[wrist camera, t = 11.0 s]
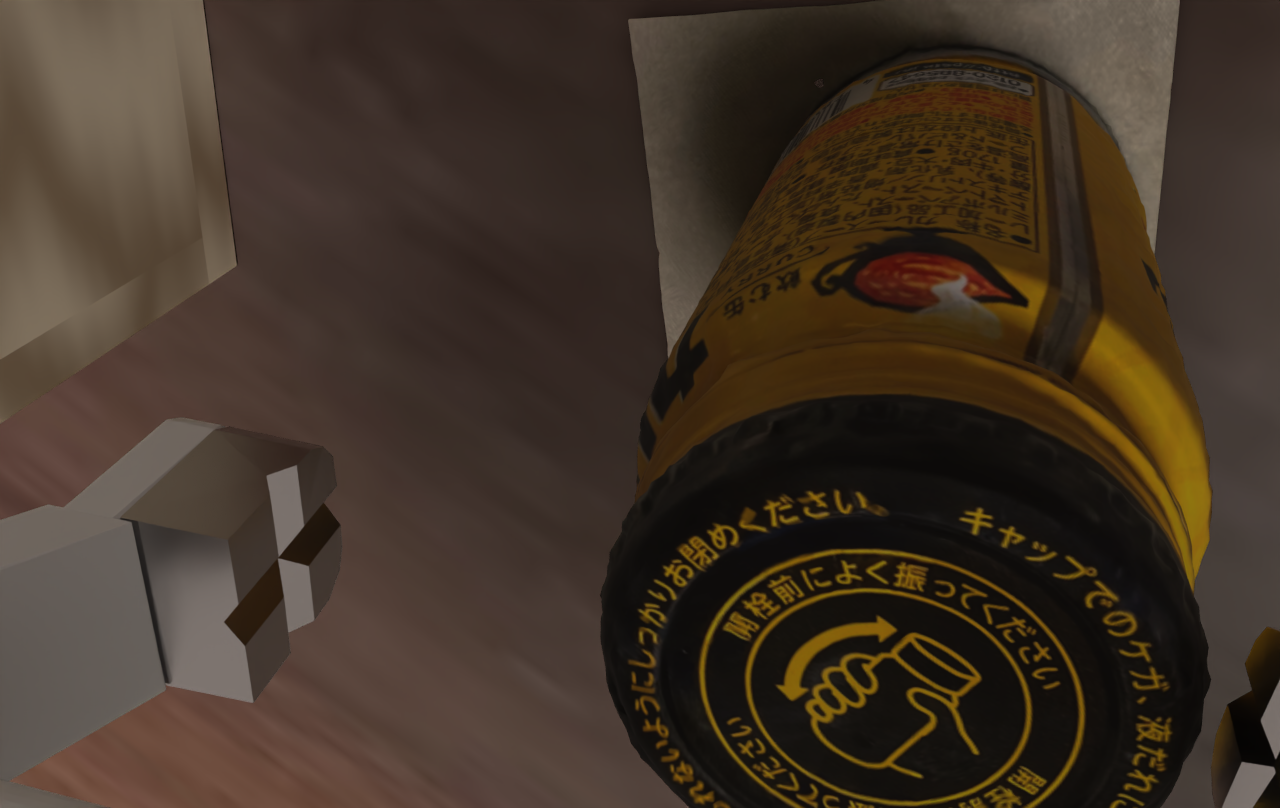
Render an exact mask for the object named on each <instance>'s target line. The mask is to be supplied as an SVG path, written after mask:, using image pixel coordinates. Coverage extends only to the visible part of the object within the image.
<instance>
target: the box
mask: <svg viewBox="0 0 1280 808" xmlns="http://www.w3.org/2000/svg"><path fill="white" fill-rule="evenodd" d="M236 266H237V262H236V255H235V247H234V239H233V231H232V224H231V216H230V208H229V200H228V192H227V185H226V177H225V169H224V161H223V154H222V146H221V138H220V130H219V122H218V115H217V107H216V99H215V91H214V83H213V76H212V68H211V60H210V52H209V45H208V37H207V29H206V21H205V13H204V6H203V0H0V423H2V422H3V421H5V420H6V419H8V418H9V417H11V416H12V415H14V414H15V413H17V412H18V411H20V410H21V409H23V408H24V407H26V406H27V405H29V404H30V403H32V402H33V401H35V400H36V399H38V398H39V397H41V396H42V395H44V394H45V393H47V392H48V391H50V390H51V389H53V388H54V387H56V386H57V385H59V384H60V383H62V382H63V381H65V380H66V379H68V378H69V377H71V376H72V375H74V374H75V373H77V372H78V371H80V370H81V369H83V368H84V367H86V366H87V365H89V364H90V363H92V362H93V361H95V360H96V359H98V358H99V357H101V356H102V355H104V354H105V353H107V352H108V351H110V350H111V349H113V348H114V347H116V346H117V345H119V344H120V343H122V342H123V341H125V340H126V339H128V338H129V337H131V336H132V335H134V334H135V333H137V332H138V331H140V330H141V329H143V328H144V327H146V326H147V325H149V324H150V323H152V322H153V321H155V320H156V319H158V318H159V317H161V316H162V315H164V314H165V313H167V312H168V311H170V310H171V309H173V308H174V307H176V306H177V305H179V304H180V303H182V302H183V301H185V300H186V299H188V298H189V297H191V296H192V295H194V294H195V293H197V292H198V291H200V290H201V289H203V288H204V287H206V286H207V285H209V284H210V283H212V282H213V281H215V280H216V279H218V278H219V277H221V276H222V275H224V274H225V273H227V272H228V271H230V270H231V269H233V268H234V267H236Z"/></svg>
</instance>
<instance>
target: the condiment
mask: <svg viewBox="0 0 1280 808" xmlns="http://www.w3.org/2000/svg"><path fill="white" fill-rule="evenodd" d="M1179 5H1180V0H889V1H885V0H879V1H871V2H862V3H853V4H842V5H830V6H804V7H790V8H775V9H758V10H740V11H730V12H719V13H710V14H701V15H689V16H670V17H654V18H640V19H628V23H629V31H630V38H631V45H632V55H633V62H634V66H635V72H636V77H637V83H638V95H639V103H640V110H641V118H642V126H643V135H644V145H645V151H646V161H647V168H648V174H649V182H650V189H651V200H652V210H653V220H654V229H655V238H656V245H657V248H658V250H659V252H660V255H659V273H660V287H661V293H662V307H663V314H664V320H665V328H666V336H667V344H668V349H667V352H668V360H667V361H666V362H665V363H664V365H663V366H662V367H661V369H660V372H659V376H658V379H657V382H656V384H655V386H654V389H653V391H652V394H651V396H650V398H649V401H648V405H647V409H646V411H645V413H644V414H643V416H642V418H641V423H640V428H641V431H640V436H639V441H638V456H637V465H638V475H637V491H636V495H635V504H634V505H633V507H632V508H631V509H630V511H629V513H628V515H627V517H626V518H625V520H624V521H623V522H622V533H621V534H620V536H619V538H618V539H617V541H616V543H615V544H614V546H613V548H612V549H611V551H610V559H609V564H608V567H607V577H606V580H605V583H604V584H603V587H602V591H601V595H600V596H601V598H602V610H603V613H602V617H601V635H600V636H601V645H602V650H603V655H604V660H605V666H606V680H607V684H608V688H609V691H610V694H611V696H612V699H613V702H614V705H615V707H616V709H617V712H618V714H619V716H620V718H621V720H622V721H623V723H624V725H625V727H626V730H627V732H628V735H629V738H630V741H631V744H632V745H633V746H634V748H635V749H636V750H637V751H638V753H639V755H640V757H641V759H642V760H644V761H645V762H646V763H647V764H648V765H649V766H650V767H651V768H652V769H653V770H654V771H655V772H656V773H657V774H658V776H659V777H660V778H661V779H662V780H663V781H664V782H665V783H666V784H667V785H668V786H669V787H670V789H671V790H672V791H673V792H674V793H675V794H676V795H677V796H678V797H680V798H681V799H682V800H683V801H684V802H685V803H686V804H687V806H688V807H689V808H1160V807H1161V806H1162V805H1163V803H1164V802H1165V800H1166V799H1167V797H1168V796H1169V795H1170V793H1171V791H1172V789H1173V787H1174V785H1175V783H1176V781H1177V779H1178V777H1179V775H1180V772H1181V769H1182V765H1183V762H1184V761H1185V759H1186V758H1187V757H1188V755H1189V754H1190V752H1191V751H1192V748H1193V746H1194V744H1195V741H1196V739H1197V737H1198V736H1199V734H1200V732H1201V726H1202V714H1203V704H1204V698H1205V696H1206V694H1207V692H1208V690H1209V686H1210V682H1211V678H1210V675H1209V672H1208V668H1207V655H1208V648H1209V647H1208V644H1207V640H1206V637H1205V633H1204V630H1203V628H1202V625H1201V622H1200V614H1199V606H1198V604H1197V602H1196V600H1195V598H1194V586H1195V578H1196V576H1197V574H1198V571H1199V567H1200V563H1201V560H1202V557H1203V555H1204V553H1205V550H1206V548H1207V545H1208V543H1209V540H1210V536H1209V527H1210V521H1211V515H1212V501H1211V500H1212V493H1213V491H1212V488H1211V485H1210V482H1209V463H1210V457H1209V455H1208V452H1207V449H1206V441H1205V434H1204V428H1203V421H1202V418H1201V415H1200V413H1199V407H1198V404H1197V401H1196V398H1195V395H1194V392H1193V389H1192V387H1191V384H1190V382H1189V379H1188V377H1187V374H1186V372H1185V369H1184V363H1183V357H1182V355H1181V352H1180V350H1179V348H1178V345H1177V342H1176V339H1175V336H1174V332H1173V324H1172V322H1171V319H1170V316H1169V314H1168V310H1167V302H1166V296H1165V289H1164V288H1163V286H1162V284H1161V274H1160V271H1159V268H1158V265H1157V262H1156V259H1155V256H1154V254H1155V244H1156V233H1157V222H1158V213H1159V204H1160V193H1161V182H1162V174H1163V162H1164V151H1165V142H1166V131H1167V122H1168V114H1169V107H1170V95H1171V84H1172V78H1173V65H1174V56H1175V47H1176V36H1177V26H1178V15H1179ZM819 79H823V83H824V86H823V87H822V88H818V87H817V86H816V85H815V83H814V82H815V81H817V80H819Z"/></svg>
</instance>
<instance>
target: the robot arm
mask: <svg viewBox="0 0 1280 808" xmlns="http://www.w3.org/2000/svg"><path fill="white" fill-rule="evenodd" d="M336 486H337V483H336V476H335V469H334V461H333V456H332V455H331V454H330V453H329V452H328V451H327V450H326V449H325V448H324V447H323V446H319V445H314V444H309V443H305V442H300V441H295V440H291V439H286V438H281V437H277V436H272V435H267V434H262V433H258V432H253V431H248V430H244V429H239V428H234V427H230V426H229V427H225V426H222V425H219V424H214V423H209V422H204V421H198V420H193V419H188V418H183V417H180V418H174V419H167V420H166V421H164V422H163V423H162V424H161V425H160V426H158V427H157V428H156V429H155V430H154V431H153V432H151V433H150V434H149V435H148V436H147V437H146V438H144V439H143V440H142V441H141V442H140V443H139V444H137V445H136V446H135V447H134V448H133V449H132V450H130V451H129V452H128V453H127V454H126V455H125V456H123V457H122V458H121V459H120V460H119V461H118V462H116V463H115V464H114V465H113V466H112V467H110V468H109V469H108V470H107V471H106V472H105V473H103V474H102V475H101V476H100V477H99V478H98V479H96V480H95V481H94V482H93V483H92V484H91V485H89V486H88V487H87V488H86V489H85V490H84V491H82V492H81V493H80V494H79V495H78V496H77V497H75V498H74V499H73V500H72V501H71V502H69V503H68V504H67V505H66V506H65V507H64V508H63V507H58V506H53V505H46V506H42V507H39V508H36V509H33V510H30V511H27V512H24V513H21V514H18V515H15V516H11V517H8V518H5V519H2V520H0V808H110V807H106V806H102V805H98V804H95V803H91V802H87V801H83V800H79V799H75V798H71V797H67V796H64V795H60V794H56V793H52V792H48V791H44V790H40V789H36V788H33V787H29V786H25V785H21V784H17V783H13V782H9V781H10V780H12V779H13V778H15V777H17V776H19V775H20V774H22V773H24V772H25V771H27V770H29V769H31V768H32V767H34V766H36V765H38V764H39V763H41V762H43V761H44V760H46V759H48V758H50V757H51V756H53V755H55V754H57V753H58V752H60V751H62V750H63V749H65V748H67V747H69V746H70V745H72V744H74V743H76V742H77V741H79V740H81V739H82V738H84V737H86V736H88V735H89V734H91V733H93V732H95V731H96V730H98V729H100V728H101V727H103V726H105V725H107V724H108V723H110V722H112V721H114V720H115V719H117V718H119V717H120V716H122V715H124V714H126V713H127V712H129V711H131V710H133V709H134V708H136V707H138V706H139V705H141V704H143V703H145V702H146V701H148V700H150V699H152V698H153V697H155V696H157V695H158V694H160V693H162V692H164V691H165V690H166V685H168V686H173V687H178V688H182V689H187V690H192V691H197V692H202V693H207V694H212V695H217V696H222V697H227V698H232V699H236V700H241V701H246V702H251V703H254V702H255V700H256V699H257V698H258V696H259V695H260V694H261V692H262V691H263V690H264V688H265V687H266V686H267V684H268V683H269V682H270V680H271V679H272V677H273V676H274V675H275V673H276V672H277V671H278V669H279V668H280V667H281V665H282V664H283V663H284V661H285V660H286V659H287V657H288V656H289V655H290V653H291V651H290V642H289V634H288V633H289V632H291V631H293V630H295V629H297V628H299V627H302V626H304V625H306V624H308V623H310V622H312V621H314V620H315V619H316V618H317V616H318V615H319V613H320V612H321V610H322V609H323V608H324V606H325V605H326V603H327V602H328V600H329V598H330V596H331V593H332V590H333V587H334V585H335V582H336V579H337V576H338V574H339V571H340V563H341V553H342V537H341V525H340V524H339V522H338V521H337V520H336V518H335V517H334V516H333V514H332V513H331V512H330V510H329V509H328V508H327V506H326V505H325V504H324V501H325V500H326V499H327V497H328V496H329V495H330V494H331V493H332V491H333V490H334V489H335V488H336ZM1245 666H1246V669H1247V673H1248V677H1249V680H1250V684H1251V687H1252V691H1250V692H1249V693H1247V694H1245V695H1243V696H1241V697H1240V698H1238V699H1236V700H1234V701H1233V702H1231V703H1229V704H1228V705H1227V707H1226V710H1225V713H1224V715H1223V718H1222V720H1221V723H1220V726H1219V728H1218V731H1217V733H1216V738H1215V744H1214V751H1213V758H1212V764H1211V777H1212V794H1213V799H1214V804H1215V808H1280V629H1277V628H1271V627H1267V628H1266V629H1265V630H1264V631H1263V632H1262V633H1261V635H1260V636H1259V637H1258V638H1257V639H1256V640H1255V643H1254V645H1253V647H1252V649H1251V652H1250V654H1249V656H1248V658H1247V661H1246V663H1245Z"/></svg>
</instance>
